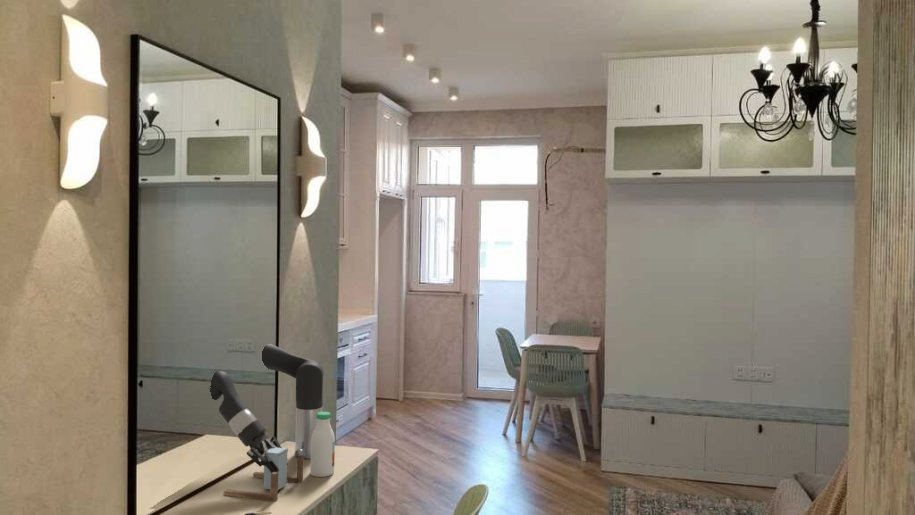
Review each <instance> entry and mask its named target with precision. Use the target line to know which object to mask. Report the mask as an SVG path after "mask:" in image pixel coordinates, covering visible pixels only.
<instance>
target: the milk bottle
mask: <svg viewBox="0 0 915 515" xmlns="http://www.w3.org/2000/svg"><path fill="white" fill-rule="evenodd" d="M331 416H332V415H331V413H330V412H329V411H322V412H319V413H317V414H316V418H317V419H316V420H317V424H316V427H315V430H314V432H313V434H312V438H311V458H310V466H309V467H310V469H309V470H310V475H311V476H312V477H316V478H324V477H326V478H327V477H329V476H332V475H333V474H334V473H335V453H336V452H335V449H336V448H335V447H336V446H335V445H336V444H335V443H336V442H335V441H336V440H335V433H334V431H333V429H332V425H331V422H330V421H331Z"/></svg>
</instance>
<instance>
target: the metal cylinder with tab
mask: <svg viewBox="0 0 915 515" xmlns="http://www.w3.org/2000/svg"><path fill="white" fill-rule="evenodd" d="M305 453H306V450H305V448H304V441H303V442H302V448H300V449H298V450H297V451H295V450H294V456H295V458H296V459H297V458H300V457H302V456H303V455H305Z"/></svg>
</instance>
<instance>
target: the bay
mask: <svg viewBox="0 0 915 515" xmlns="http://www.w3.org/2000/svg"><path fill="white" fill-rule="evenodd" d="M252 478H259V479H264V472H262V471H261V472H260V471H255V472H253V473H252ZM287 482H293V483H302V482H304V458H303V456H302V457H300V458H297V457H296V476H294V475H288V474H287ZM223 495H224V496H231V497H239V498H246V499H254V500H262V501H269V502H270V501H271V502H276V501H278V499H279V498H278V497H279V490H278V472H273V473H271V489H270V494H268V493H262V492H252V491H245V490H236V489H230V488H227V489H224V491H223Z"/></svg>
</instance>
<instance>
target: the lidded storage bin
mask: <svg viewBox="0 0 915 515" xmlns="http://www.w3.org/2000/svg"><path fill="white" fill-rule="evenodd" d="M288 451H289V448H284V447H282V448H276V447H275V448H270V449H269V450H268V456H269V457H270V459H271V461H272V462H273V463H274V464H275V465H276V467H277V468H278V469H279V471H278V491H279V490H280V489H282V488H283V487H284V486H286V485H287V482H288V481H287V475H288V474H287V473H288V465H287V463H288ZM264 458H265V459H266V457H264ZM263 473H264V478H263V488H264V489H269V490H271V472H270V471H269V469H268V468H267V467H266V466H263Z"/></svg>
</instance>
